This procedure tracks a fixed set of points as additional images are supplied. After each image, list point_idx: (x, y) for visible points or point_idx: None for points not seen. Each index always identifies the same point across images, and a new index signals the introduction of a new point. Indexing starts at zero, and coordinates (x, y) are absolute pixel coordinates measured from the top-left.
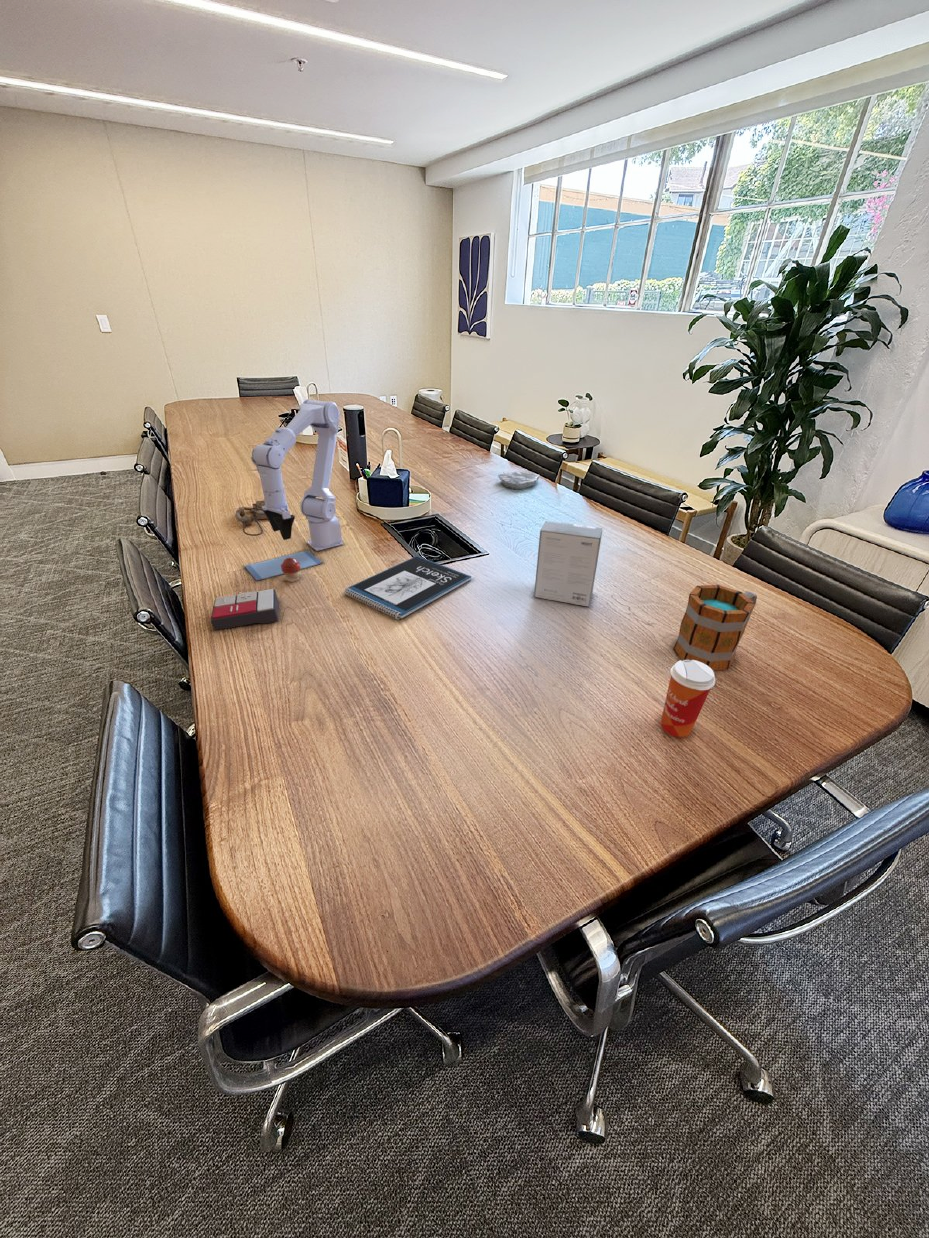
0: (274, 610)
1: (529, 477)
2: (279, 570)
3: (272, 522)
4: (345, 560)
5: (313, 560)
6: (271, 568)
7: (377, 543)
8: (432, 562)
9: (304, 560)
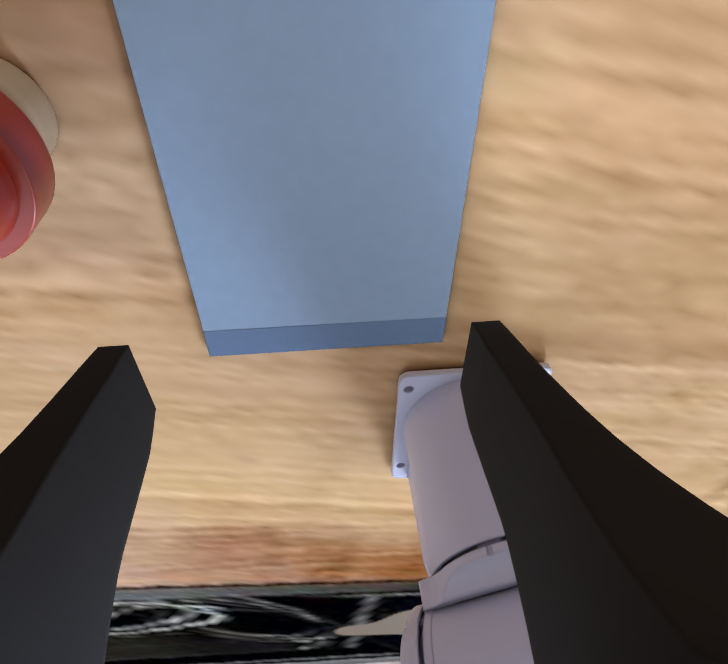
0: None
1: None
2: (205, 63)
3: (520, 432)
4: (197, 439)
5: (269, 327)
6: (289, 6)
7: (315, 546)
8: None
9: (301, 285)
